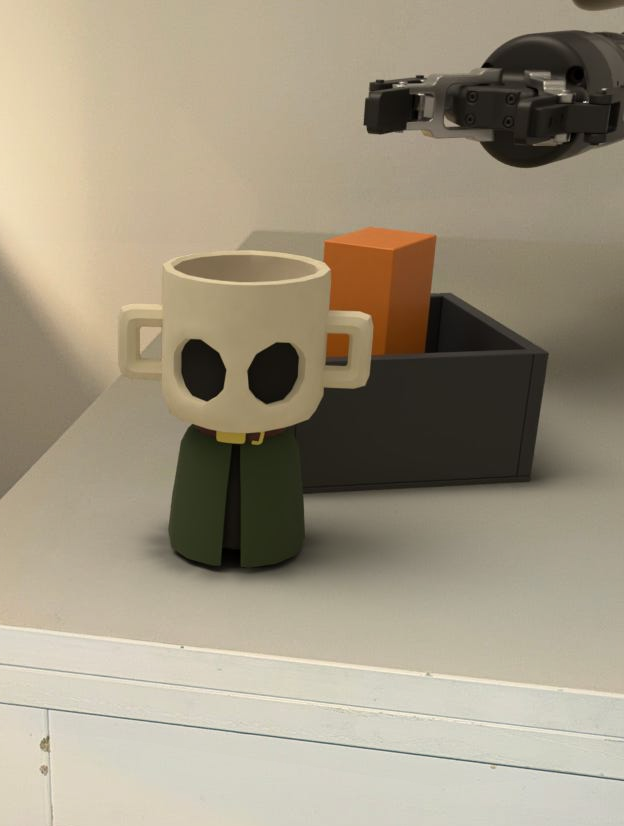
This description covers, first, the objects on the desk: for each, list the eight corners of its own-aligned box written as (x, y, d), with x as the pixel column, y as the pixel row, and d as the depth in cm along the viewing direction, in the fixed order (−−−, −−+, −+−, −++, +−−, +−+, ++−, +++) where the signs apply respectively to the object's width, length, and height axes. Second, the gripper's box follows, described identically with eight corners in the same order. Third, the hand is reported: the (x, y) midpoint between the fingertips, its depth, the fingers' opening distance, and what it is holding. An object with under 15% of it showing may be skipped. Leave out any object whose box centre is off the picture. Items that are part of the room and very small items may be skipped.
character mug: (106, 576, 58) (103, 279, 52) (130, 516, 64) (129, 245, 58) (354, 591, 57) (380, 288, 51) (354, 528, 63) (376, 252, 57)
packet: (353, 422, 76) (369, 226, 71) (416, 435, 74) (437, 234, 69) (310, 444, 72) (323, 240, 67) (375, 459, 70) (394, 249, 65)
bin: (438, 409, 80) (451, 292, 77) (529, 486, 68) (549, 352, 65) (221, 418, 78) (224, 299, 75) (276, 500, 66) (283, 362, 63)
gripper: (454, 28, 83) (331, 37, 72) (682, 34, 76) (587, 45, 64) (441, 152, 87) (322, 180, 75) (659, 170, 79) (565, 204, 68)
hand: (445, 118), depth 70 cm, fingers open, 8 cm apart
